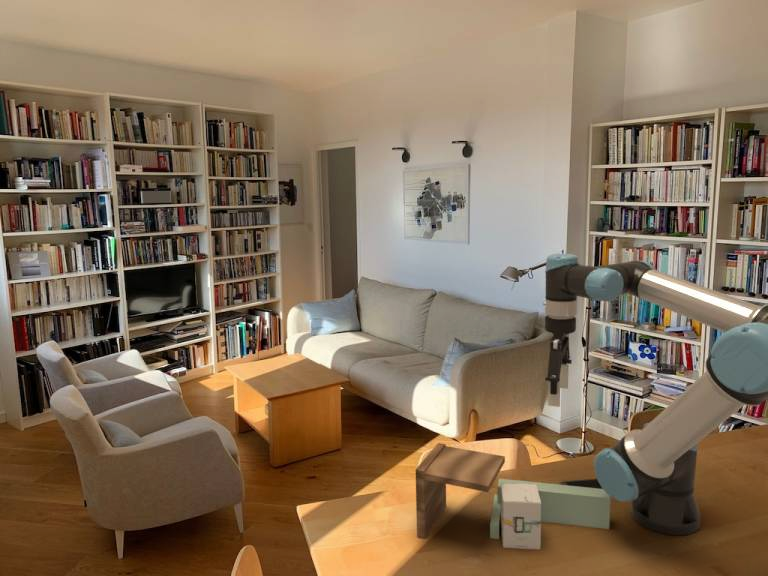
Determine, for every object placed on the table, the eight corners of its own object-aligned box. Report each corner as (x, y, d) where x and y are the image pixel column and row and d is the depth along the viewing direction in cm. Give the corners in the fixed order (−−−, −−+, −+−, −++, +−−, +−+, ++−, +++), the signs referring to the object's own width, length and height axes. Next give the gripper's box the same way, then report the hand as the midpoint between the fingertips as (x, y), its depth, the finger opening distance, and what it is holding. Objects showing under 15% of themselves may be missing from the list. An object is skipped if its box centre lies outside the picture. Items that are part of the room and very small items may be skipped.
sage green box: (607, 520, 142) (608, 489, 140) (613, 554, 129) (615, 521, 127) (494, 507, 148) (494, 478, 147) (490, 538, 136) (490, 506, 134)
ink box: (499, 526, 140) (500, 481, 138) (535, 527, 139) (536, 482, 137) (502, 548, 132) (503, 501, 130) (541, 550, 131) (542, 502, 129)
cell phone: (621, 493, 153) (621, 491, 153) (570, 497, 152) (570, 495, 152) (608, 480, 161) (608, 477, 161) (559, 483, 160) (559, 481, 159)
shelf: (504, 519, 143) (504, 454, 140) (487, 554, 130) (488, 483, 127) (438, 504, 150) (438, 442, 147) (416, 536, 137) (415, 469, 134)
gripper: (553, 304, 159) (551, 379, 162) (535, 326, 136) (533, 411, 140) (582, 306, 155) (579, 382, 159) (568, 328, 133) (566, 416, 137)
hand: (558, 396), depth 150 cm, fingers open, 13 cm apart
